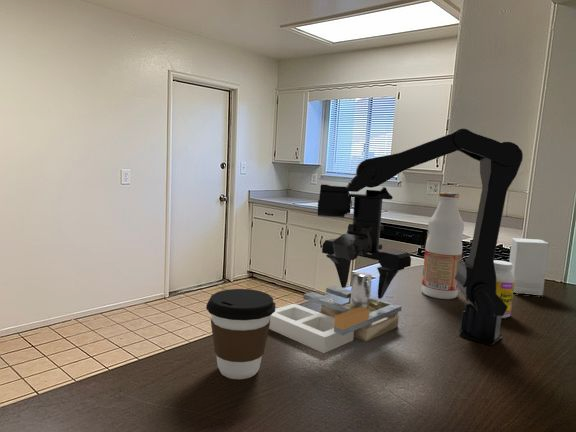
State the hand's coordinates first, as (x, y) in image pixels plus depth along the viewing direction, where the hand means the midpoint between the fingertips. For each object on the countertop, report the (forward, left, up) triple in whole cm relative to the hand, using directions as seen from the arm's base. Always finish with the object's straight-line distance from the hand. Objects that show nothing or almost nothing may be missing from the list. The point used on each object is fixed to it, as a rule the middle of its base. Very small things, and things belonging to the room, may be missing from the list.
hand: (361, 292), depth 90 cm
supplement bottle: (-17, -33, -7) cm, 38 cm away
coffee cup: (+1, +32, -7) cm, 33 cm away
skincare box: (-16, -60, -7) cm, 63 cm away
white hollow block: (+4, +12, -7) cm, 15 cm away
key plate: (+2, +5, -3) cm, 6 cm away
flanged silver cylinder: (0, 0, -7) cm, 7 cm away
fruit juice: (-1, -37, -7) cm, 38 cm away
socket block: (0, 0, -7) cm, 7 cm away
